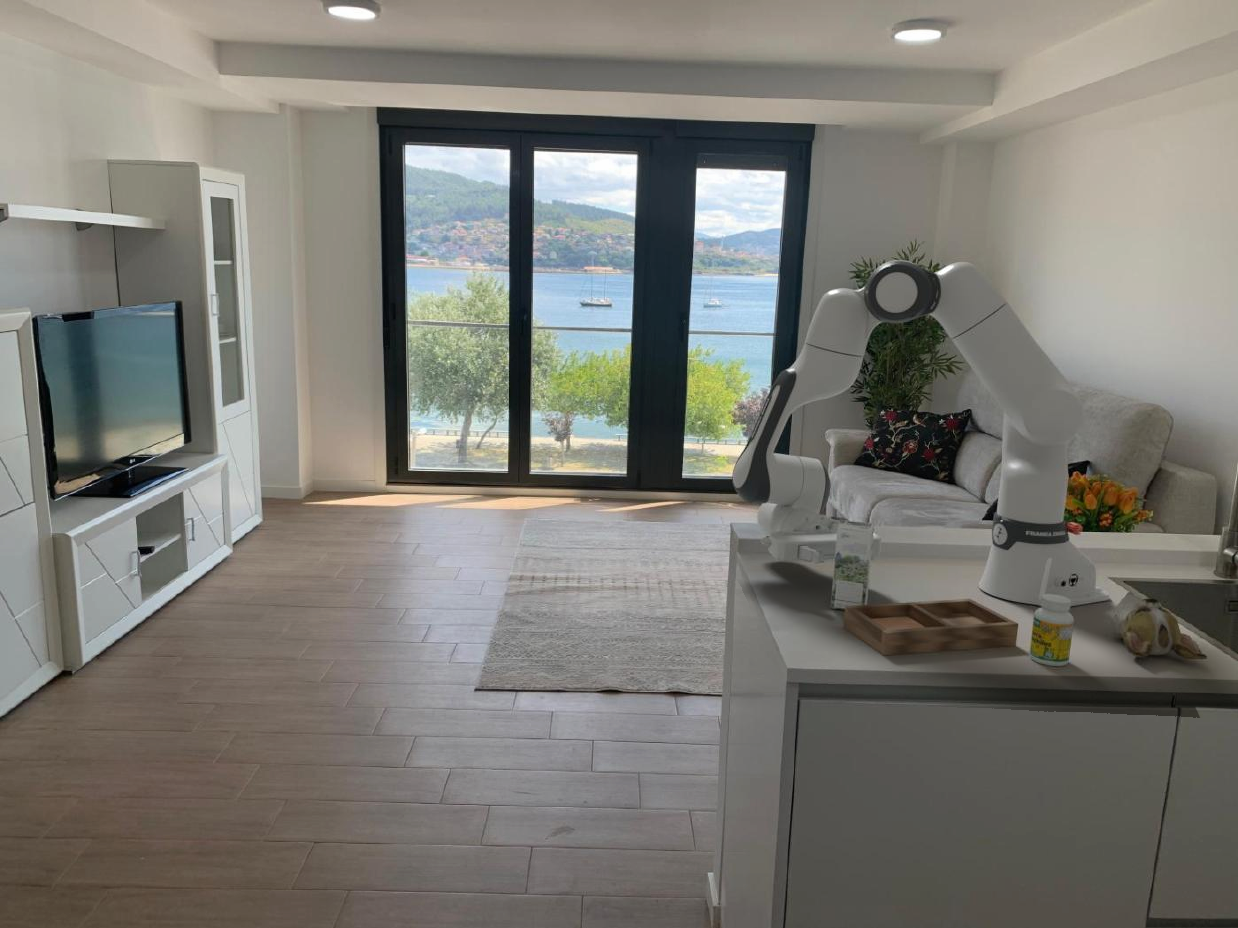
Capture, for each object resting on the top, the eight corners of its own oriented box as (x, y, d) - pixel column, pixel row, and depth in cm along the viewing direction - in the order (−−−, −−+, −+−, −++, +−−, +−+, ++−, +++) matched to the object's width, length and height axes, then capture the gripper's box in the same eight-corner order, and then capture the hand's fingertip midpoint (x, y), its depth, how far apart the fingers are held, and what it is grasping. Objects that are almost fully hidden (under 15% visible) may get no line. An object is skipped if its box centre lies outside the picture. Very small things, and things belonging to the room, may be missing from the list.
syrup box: (867, 603, 164) (875, 521, 161) (864, 614, 158) (872, 529, 156) (833, 599, 166) (840, 518, 163) (829, 609, 160) (836, 525, 158)
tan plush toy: (1164, 583, 152) (1218, 621, 138) (1155, 633, 155) (1208, 675, 140) (1097, 581, 153) (1144, 618, 138) (1089, 631, 155) (1134, 672, 140)
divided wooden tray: (967, 618, 158) (970, 598, 158) (1015, 645, 147) (1018, 623, 146) (843, 626, 152) (845, 606, 151) (883, 655, 141) (885, 632, 140)
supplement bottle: (1076, 664, 140) (1084, 602, 138) (1049, 668, 138) (1057, 605, 136) (1047, 651, 145) (1055, 590, 143) (1020, 655, 143) (1028, 594, 141)
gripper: (757, 521, 173) (791, 541, 160) (858, 518, 178) (899, 537, 165) (755, 555, 174) (788, 577, 161) (856, 550, 180) (896, 572, 166)
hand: (845, 557), depth 163 cm, fingers open, 8 cm apart
